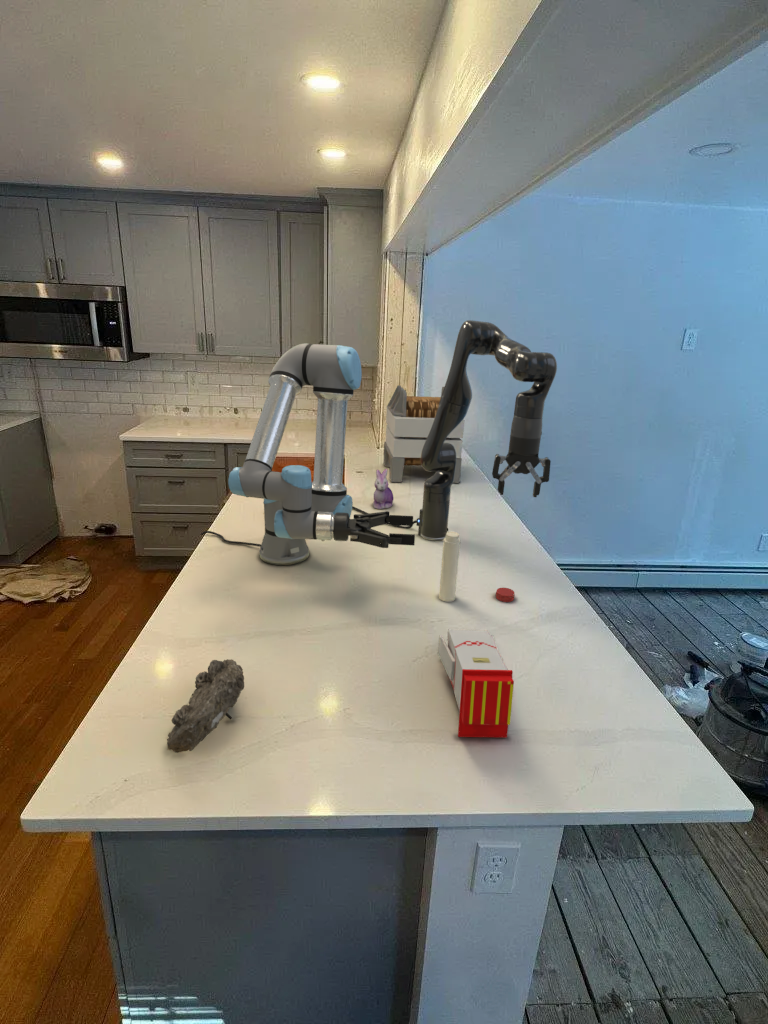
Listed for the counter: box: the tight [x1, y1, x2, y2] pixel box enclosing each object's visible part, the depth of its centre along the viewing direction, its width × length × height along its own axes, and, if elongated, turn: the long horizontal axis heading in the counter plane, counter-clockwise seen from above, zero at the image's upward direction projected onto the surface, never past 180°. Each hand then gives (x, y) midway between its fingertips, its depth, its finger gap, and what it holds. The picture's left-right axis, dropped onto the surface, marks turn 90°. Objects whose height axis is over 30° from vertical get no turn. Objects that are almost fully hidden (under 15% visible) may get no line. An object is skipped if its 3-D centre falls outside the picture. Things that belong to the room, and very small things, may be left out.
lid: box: [495, 587, 515, 603], centre depth 158 cm, size 5×5×2 cm
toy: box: [437, 628, 515, 738], centre depth 117 cm, size 12×13×30 cm
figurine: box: [372, 468, 394, 510], centre depth 225 cm, size 9×10×15 cm
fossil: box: [166, 658, 245, 754], centre depth 106 cm, size 22×10×15 cm
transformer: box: [383, 384, 465, 484], centre depth 268 cm, size 34×33×41 cm
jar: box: [438, 531, 461, 603], centre depth 154 cm, size 4×4×19 cm
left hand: (413, 530), depth 150 cm, fingers open, 13 cm apart
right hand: (517, 495), depth 148 cm, fingers open, 8 cm apart
